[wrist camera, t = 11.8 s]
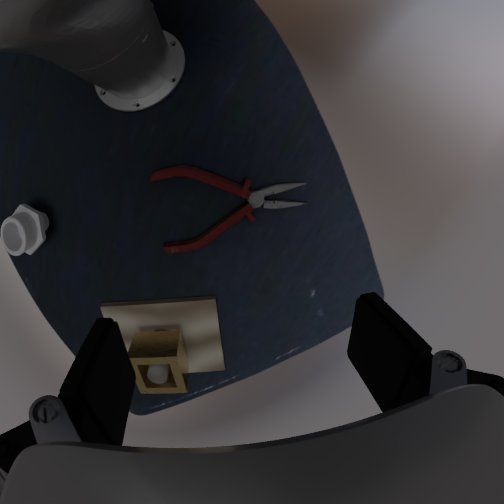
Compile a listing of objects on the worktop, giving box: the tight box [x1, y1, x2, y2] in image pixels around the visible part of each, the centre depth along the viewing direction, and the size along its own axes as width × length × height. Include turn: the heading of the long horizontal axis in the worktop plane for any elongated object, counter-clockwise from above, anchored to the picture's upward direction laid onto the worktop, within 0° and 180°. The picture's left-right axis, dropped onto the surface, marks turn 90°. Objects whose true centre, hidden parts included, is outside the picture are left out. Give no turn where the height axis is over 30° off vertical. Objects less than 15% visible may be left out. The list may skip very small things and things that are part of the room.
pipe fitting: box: [1, 204, 49, 256], centre depth 29 cm, size 6×7×8 cm
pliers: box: [150, 165, 308, 253], centre depth 36 cm, size 12×20×3 cm, turn 96°
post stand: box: [100, 295, 225, 384], centre depth 38 cm, size 14×18×9 cm
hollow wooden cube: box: [128, 330, 189, 394], centre depth 36 cm, size 7×7×6 cm
